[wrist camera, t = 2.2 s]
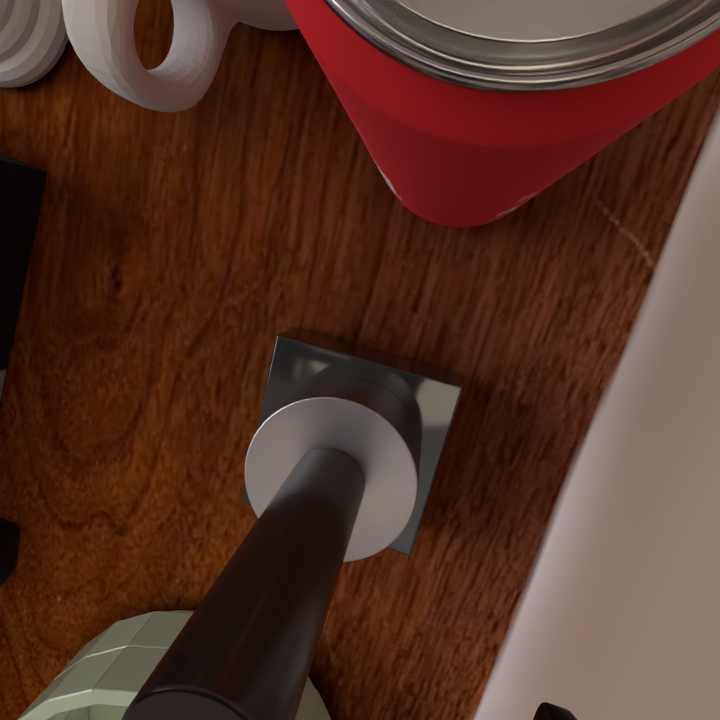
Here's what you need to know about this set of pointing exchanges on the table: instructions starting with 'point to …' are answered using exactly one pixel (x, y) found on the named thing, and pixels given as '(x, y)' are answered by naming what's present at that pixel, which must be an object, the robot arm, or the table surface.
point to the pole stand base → (394, 373)
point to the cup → (187, 53)
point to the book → (15, 242)
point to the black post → (291, 553)
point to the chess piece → (30, 40)
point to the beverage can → (501, 87)
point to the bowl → (126, 672)
